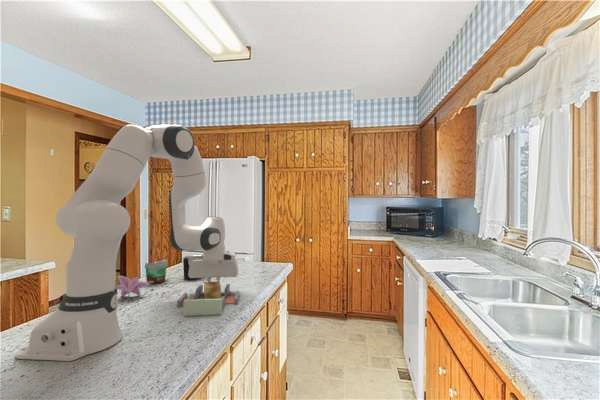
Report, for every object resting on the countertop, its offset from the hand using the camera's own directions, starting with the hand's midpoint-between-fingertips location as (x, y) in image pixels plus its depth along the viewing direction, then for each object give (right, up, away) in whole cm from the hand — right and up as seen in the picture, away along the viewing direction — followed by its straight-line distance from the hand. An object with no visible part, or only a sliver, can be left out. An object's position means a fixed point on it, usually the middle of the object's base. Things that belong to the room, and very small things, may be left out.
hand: (213, 287), depth 126 cm
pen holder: (-17, -2, +23) cm, 28 cm away
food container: (-30, -2, +15) cm, 34 cm away
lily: (-31, -2, -8) cm, 32 cm away
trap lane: (+2, -2, -11) cm, 12 cm away
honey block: (+1, -2, -5) cm, 6 cm away
